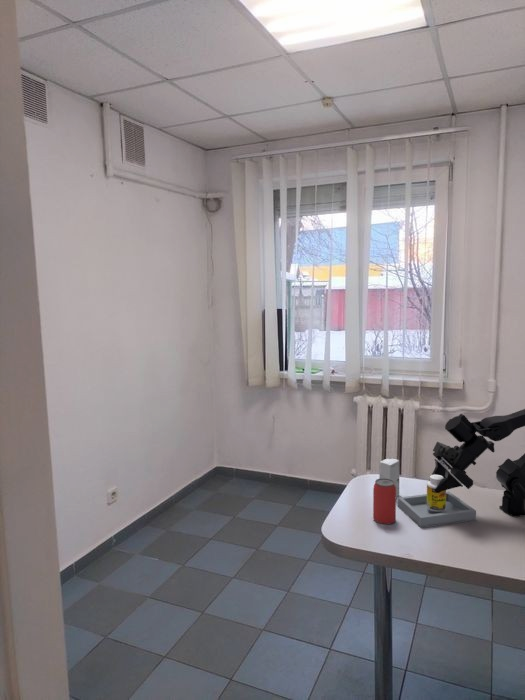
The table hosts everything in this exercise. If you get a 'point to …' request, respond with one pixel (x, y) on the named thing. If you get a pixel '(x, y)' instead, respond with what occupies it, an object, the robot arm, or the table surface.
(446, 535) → the table surface
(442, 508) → the supplement bottle
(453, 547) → the table surface
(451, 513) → the sorting tray
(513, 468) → the robot arm
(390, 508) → the beer can
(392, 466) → the skincare box
